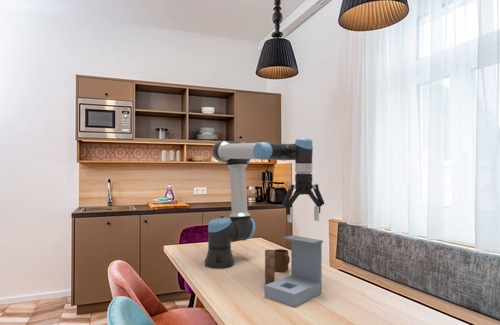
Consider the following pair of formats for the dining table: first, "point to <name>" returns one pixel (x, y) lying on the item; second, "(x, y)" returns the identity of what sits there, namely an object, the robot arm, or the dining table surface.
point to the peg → (269, 266)
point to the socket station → (299, 273)
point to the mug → (281, 260)
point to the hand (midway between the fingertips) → (303, 221)
